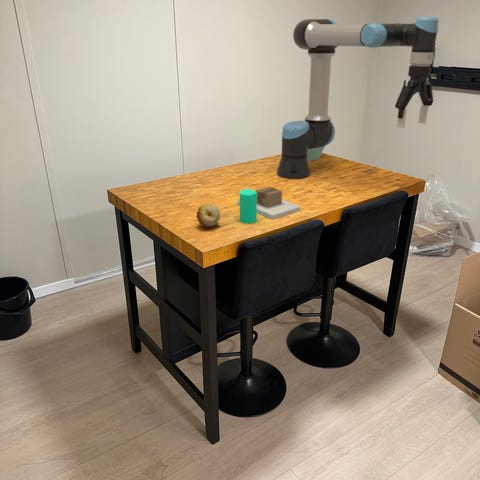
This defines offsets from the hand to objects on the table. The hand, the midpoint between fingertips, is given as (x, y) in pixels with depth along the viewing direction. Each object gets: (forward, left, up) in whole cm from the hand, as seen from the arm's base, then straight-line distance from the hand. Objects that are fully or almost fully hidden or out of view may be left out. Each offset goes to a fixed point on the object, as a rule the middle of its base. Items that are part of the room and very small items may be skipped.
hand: (411, 125), depth 174 cm
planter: (-64, +13, -28) cm, 71 cm away
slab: (-24, -50, -28) cm, 62 cm away
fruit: (-23, -78, -28) cm, 86 cm away
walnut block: (-24, -50, -26) cm, 61 cm away
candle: (-19, -64, -28) cm, 73 cm away
